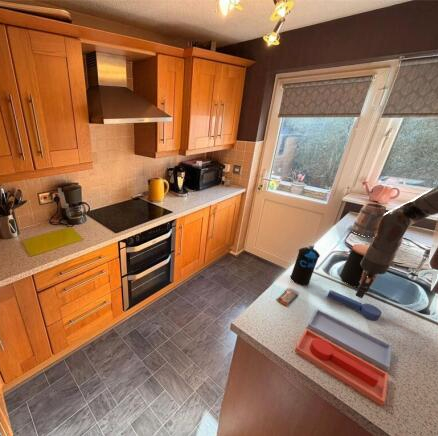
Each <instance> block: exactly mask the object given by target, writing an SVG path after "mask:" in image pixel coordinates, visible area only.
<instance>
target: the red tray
mask: <svg viewBox="0 0 438 436" xmlns="http://www.w3.org/2000/svg"><path fill="white" fill-rule="evenodd" d="M316 338H318V339H322V340H324V341H326V342H327V343H329V344H330V345H331V346H332V348H333V350H335V351H336V352H338V353H340V354H342V355H344V356H345V357H347V358H349V359H351V360H352V361H354V362H356V363H358V364H359V365H361V366H363V367H365V368H366V369H368V370H370V371H372V372H374V373H375V374H377V375H379V381H378V383H377V384H376V386H375V387H373V386H371V385H369V384H368V383H366V382H364V381H363V380H361V379H359V378H358V377H356V376H354V375H353V374H351V373H349V372H348V371H346V370H344V369H343V368H341V367H339V366H337V365H336V364H334V363H332V362H331V361H330V360H328V361H324V360H321V359H319V358H317V357H315V356H314V355H313V354H312V353H311V351H310V345H311V342H312V340H313V339H316ZM294 352H296V353H297V354H298V355H300V356H302V357H303V358H305V359H306V360H308V361H310V362H311V363H313V364H314V365H316V366H318V367H319V368H321V369H322V370H324V371H325V372H327V373H328V374H330V375H332V376H333V377H335V378H336V379H338V380H340V381H341V382H343V383H344V384H346V385H348V386H350V387H351V388H353V389H354V390H356V391H357V392H358V393H360V394H362V395H364V396H365V397H366V398H368V399H370V400H372V401H373V402H375V403H376V404H378V405H379V406H381V407H383V406H384V404H385V403H386V397H387V396H386V395H387V390H388V389H387V388H388V381H389V373H388V372H387V371H385V370H383V369H382V368H380V367H378V366H376V365H374V364H372V363H371V362H369V361H367V360H365V359H363V358H362V357H360V356H358V355H356V354H354V353H352V352H351V351H349V350H347V349H345V348H343V347H342V346H340V345H338V344H336V343H334V342H332V341H331V340H329V339H327V338H325V337H323V336H321V335H320V334H318V333H316V332H314V331H312V330H311V329H309V328H305V330H304V331H303V333H302V335H301V337H300V339H299V341H298V343H297V345H296V347H295V349H294ZM330 359H331V358H330Z"/></svg>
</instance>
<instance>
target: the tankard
mask: <svg viewBox="0 0 438 436" xmlns="http://www.w3.org/2000/svg"><path fill="white" fill-rule="evenodd" d="M386 209H387V206H385V205H382V204H379V203H373V202H365V203H364V205H363V206H362V207H361V208H360V210H359V213H358V214H357V217H356V219H355V220H354V222H353V225H350V226H349V227H347V231H348V232H350V231H353V232H355V233H357V234H360V235H363V236H365V237H368V236H369V237H375V235H376V233H377V229H378V226H379V223H380V220H381V218H382V217H383V215H384V214H385V213H386ZM365 237H364V238H365Z"/></svg>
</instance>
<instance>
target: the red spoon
mask: <svg viewBox="0 0 438 436" xmlns="http://www.w3.org/2000/svg"><path fill="white" fill-rule="evenodd" d="M310 351H311V353H312V354H313V355H314V356H315V357H317V358H319V359H321V360H324V361H328V360H330V361H331V362H332V363H334V364H336V365H337V366H339V367H341V368H343V369H344V370H346V371H348V372H349V373H351V374H353V375H354V376H356V377H358V378H359V379H361V380H363V381H364V382H366V383H368V384H369V385H371V386H373V387H375V386H376V384H377V383H378V381H379V375H377V374H375V373H374V372H372V371H370V370H368V369H366V368H365V367H363V366H361V365H359V364H358V363H356V362H354V361H352V360H351V359H349V358H347V357H345V356H344V355H342V354H340V353H338V352H336V351H335V350H333V348H332V346H331V345H330V344H329V343H327V342H326V341H324V340H322V339H318V338H316V339H313V340H312V342H311V345H310ZM330 358H331V359H330Z"/></svg>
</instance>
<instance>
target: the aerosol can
mask: <svg viewBox="0 0 438 436" xmlns="http://www.w3.org/2000/svg"><path fill="white" fill-rule="evenodd" d="M319 258H321V254H320V253H319V251H317V250H316V249H315V245H314V244H312V243H309V244H308V246H306V247H302V248H299V249H298V253H297V256H296V260H295V263H294V265H293V269H292V272H291V274H290V275H289V278H290V277H291V279H292V280H293V281H294V282H293V281H292V280H291V279H290V280H291V281H292V282H293V283H295V284H296V285H299V284H300V285H299V286H304V285H305V286H309V285H310V281H311V279H312V276H313V273H314V270H315V268H316V265H317V263H318V260H319ZM308 284H309V285H308Z"/></svg>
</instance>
